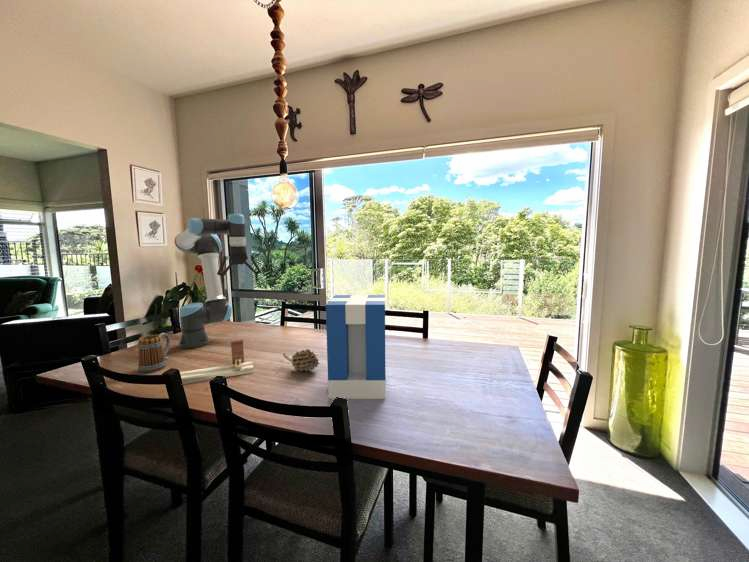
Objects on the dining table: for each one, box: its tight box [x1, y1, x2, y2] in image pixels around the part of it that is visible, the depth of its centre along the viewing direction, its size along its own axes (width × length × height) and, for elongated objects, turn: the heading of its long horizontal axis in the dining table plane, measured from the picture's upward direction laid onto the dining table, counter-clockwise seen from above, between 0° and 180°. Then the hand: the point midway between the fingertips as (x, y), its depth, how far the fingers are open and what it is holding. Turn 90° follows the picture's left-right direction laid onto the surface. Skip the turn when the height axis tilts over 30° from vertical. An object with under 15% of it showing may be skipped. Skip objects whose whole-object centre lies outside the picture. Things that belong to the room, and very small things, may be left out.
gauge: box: [230, 337, 245, 370], centre depth 142 cm, size 14×5×12 cm, turn 24°
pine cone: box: [282, 348, 320, 372], centre depth 142 cm, size 22×10×10 cm, turn 62°
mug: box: [137, 332, 171, 374], centre depth 146 cm, size 16×11×15 cm
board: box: [179, 361, 254, 385], centre depth 137 cm, size 9×30×2 cm, turn 114°
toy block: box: [325, 294, 387, 400], centre depth 123 cm, size 21×21×35 cm
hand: (240, 288), depth 158 cm, fingers open, 13 cm apart
